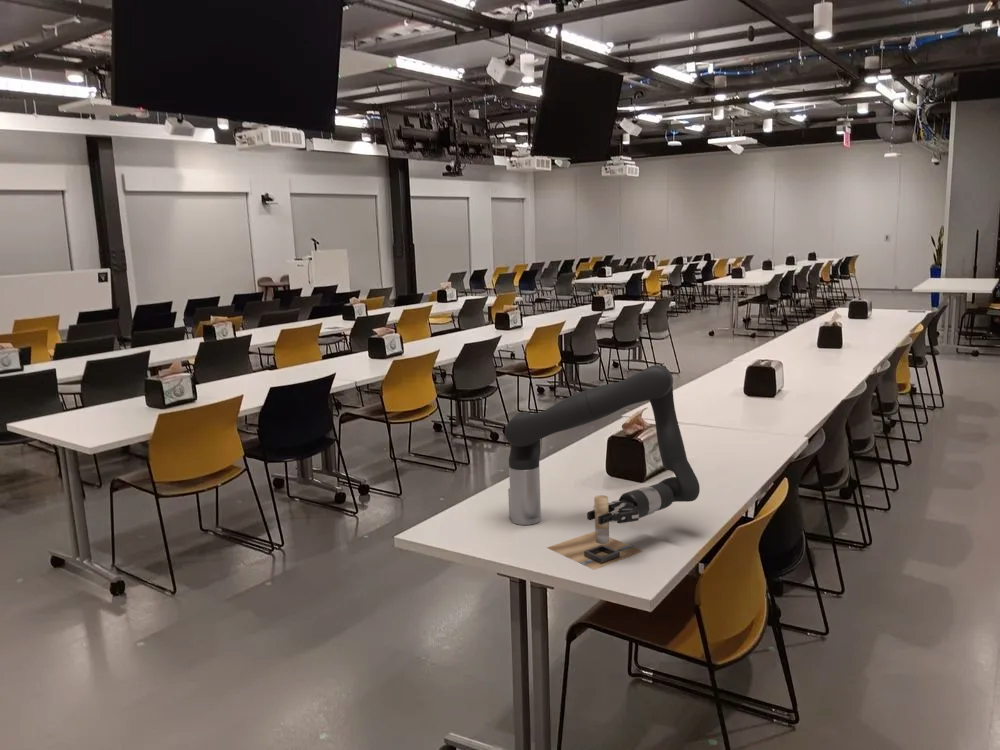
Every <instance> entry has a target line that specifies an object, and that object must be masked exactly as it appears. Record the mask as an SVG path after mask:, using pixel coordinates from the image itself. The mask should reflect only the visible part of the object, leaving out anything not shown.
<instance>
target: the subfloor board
mask: <svg viewBox="0 0 1000 750" xmlns="http://www.w3.org/2000/svg"><path fill="white" fill-rule="evenodd" d="M600 545H604V546H607V547H609V548H611V549H614V550H616V551H618V552H620V557H619V558H617V559H614V560H611V561H609V562H606V563H603V564H600V563H598V562H595V561H593V560H591V559H589V558H587V557H584V551H586V550H589V549H591V548H594V547H597V546H600ZM546 549H549V550H551V551H553V552H555V553H557V554H559V555H561V556H563V557H566V558H567V559H570V560H572V561H574V562H576V563H579V564H581V565H583V566H585V567H588V568H589V569H591V570H594V571H595V570H597V569H601V568H603V567H605V566H606V567H607V566H608V565H611V564H613V563H616V562H618V561H621V560H625V559H626V558H629V557H632V556H635V555H637V554H640V553H642V552H644V550H642V549H640V548H637V547H635V546H633V545H631V544H627V543H625V542H623V541H620V540H618V539H615V538H613V537H610V536H609V542H608V543H605V544H600V543H597V542H596V539H595V530H594V531H592V532H589V533H586V534H583V535H580V536H579V535H578V536H577V537H574V538H570V539H568V540H565V541H563V542H560V543H556V544H554V545H551V546H547V547H546ZM596 555H598V556H600V557H603V556H606V555H608V554H607V553H604V552H600V553H597V554H596Z"/></svg>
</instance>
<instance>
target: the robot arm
mask: <svg viewBox="0 0 1000 750" xmlns="http://www.w3.org/2000/svg"><path fill="white" fill-rule="evenodd" d="M673 384H674V377H673V375H672V373H671V371H670V370H669V368H667V367H665V366H663V365H660V364H654V365H650V366H648V367H645V368H644V369H643V370H641V371H639V372H637V373H635V374H634V375H631V376H629V377H627V378H625V379H623V380H620V381H618V382H613V383H609V384H608V383H607V384H604V385H603V384H602V385H599V386H596V387H595V386H594V387H591V388H589V389H585V390H582V391H580V392H577V393H574V394H573V395H570V396H568V397H566V398H564V399H562V400H560V401H559V402H557V403H556V404H554V405H552V406H550V407H549V408H546V409H544V410H542V411H540V412H535V413H531V412H528V411H522V412H521V411H520V412H517V414H515V415H514V416H513V417H512V418H511V419H510V420H509V421H508V422H507V424H506V426H505V429H504V437H505V439H506V441H507V442H508V443H509V444H510V452H509V457H508V473H509V474H508V476H509V479H508V480H509V488H508V489H507V490H508V492H507V493H508V515H509V516H508V518H509V519H510V522H512V523H513V524H516V525H520V526H521V525H522V526H528V525H529V526H531V525H534V524H537V523H540V522H541V520H542V509H541V506H542V505H541V479H540V477H541V474H540V458H541V439H544V438H546V437H548V436H550V435H554V434H555V433H559V432H563V431H564V432H565V431H567V430H570V429H571V430H572V429H574V428H578V427H580V426H583V425H586V424H589V423H592V422H596V421H598V420H600V419H601V420H602V419H603V418H605V417H608V416H610V415H612V414H614V413H616V412H618V411H620V410H622V409H624V408H626V407H629V406H632V405H635V404H638V403H642V402H646V401H649V403H650V405H651V410H652V413H653V416H654V422H655V433H656V439H657V445H658V450H659V454H660V460H661V463H662V466H663V468H664V469H665V470H667V471H670V472H672V473H673V474H674V475H675V476H672V477H668V478H665V479H663V480H661V481H660V482H658V483H655V484H651V485H649V486H645V487H639V488H636V489H634V490H630V491H628V492H624V493H622V494H621V496H620V497H619V498H618V500H614V501H611V502H608V511H609V513H607V514H603V515H600V516H599V517H598V524H600V525H602V524H605V523H608V522H609V523H610V522H611V523H615V522H616V523H617V524H624V523H625V524H626V523H631V522H632V523H633V522H637V521H639V519H641V518H643V517H647V516H650V515H652V514H654V513H656V512H659V511H661V510H664V509H667V508H668V507H670V506H671V505H672V504H673V503H676V502H680V503H681V502H683V503H684V502H686V503H687V502H689V503H690V502H693V501H696V500H698V499H697V498H698V497H699V495H700V490H701V489H700V483H699V480H698V477H697V476H696V474H695V471H694V470H693V468H692V465H691V464H690V462H689V460H688V457H687V453H686V450H685V444H684V441H683V436H682V432H681V430H680V425H679V422H678V418H677V413H676V407H675V401H674V389H673ZM593 508H594V509H593V510H590V511H588V512H586V517H587V521H593V520H595V506H594V505H593Z"/></svg>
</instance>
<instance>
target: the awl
mask: <svg viewBox="0 0 1000 750" xmlns="http://www.w3.org/2000/svg"><path fill="white" fill-rule="evenodd" d="M593 500H594V505H593V507H594V506H595V519H594V531H595V539H596V542H597V543H600V544H605V543H608V542H609V537H610V525H609V524H610V522H608V523H605V524H602V525H600V524H598V517H599V516H600V515H603V514H607V513H609V511H608V503H609V496H607V495H602V494H601V495H596V496H594V497H593Z"/></svg>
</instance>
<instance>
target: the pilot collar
mask: <svg viewBox="0 0 1000 750" xmlns="http://www.w3.org/2000/svg"><path fill="white" fill-rule="evenodd" d="M600 552H604V553H607V554H608V555H606V556H603V557H600V556H598V555H596V554H597V553H600ZM584 557H587V558H589V559H591V560H593V561H595V562H598V563H600V564H603V563H606V562H609V561H611V560H614V559H617V558H619V557H620V552H618V551H616V550H614V549H611V548H609V547H607V546H604V545H600V546H597V547H594V548H591V549H589V550H586V551H584Z"/></svg>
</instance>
